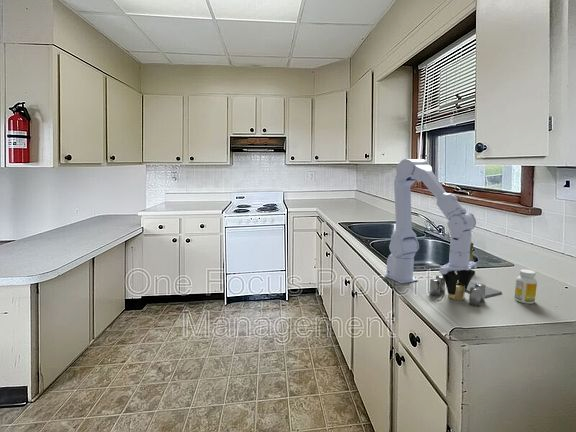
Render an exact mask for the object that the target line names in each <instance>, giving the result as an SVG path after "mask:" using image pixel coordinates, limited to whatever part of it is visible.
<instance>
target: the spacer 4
mask: <svg viewBox="0 0 576 432" xmlns="http://www.w3.org/2000/svg"><path fill="white" fill-rule="evenodd" d="M475 283H476V284H475V287H476V288H480V289H481V299H480V303H484V302H485V298H486V297H485V289H486V287H487V286H486V284H483V283H480V282H479V283H477V282H475Z"/></svg>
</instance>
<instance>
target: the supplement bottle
mask: <svg viewBox="0 0 576 432" xmlns="http://www.w3.org/2000/svg"><path fill="white" fill-rule="evenodd" d="M535 277H536V271H533V270H532V269H520V270H519V276H517V277H516V278H515V280H516V281H515V290H514V297H513V298H514V300H515V301H517V302H519V303H522V304H528V305H529V304H531V305H532V304H534V303H535V301H536V294H537V286H538V285H537V284H538V280H537V279H536V278H535Z"/></svg>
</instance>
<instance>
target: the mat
mask: <svg viewBox="0 0 576 432" xmlns="http://www.w3.org/2000/svg"><path fill="white" fill-rule="evenodd" d="M476 283H477V282H475V281H471V280H470V282H469V284H468V287H467V289H466V292H465V293H469V294H470V288H471V287H475V284H476ZM501 294H503V292H502V291H501V290H497V289H495V288H492V287H489V286H486V289H485V298H489V297H493V296H497V295H501Z"/></svg>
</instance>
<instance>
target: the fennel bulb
mask: <svg viewBox="0 0 576 432" xmlns="http://www.w3.org/2000/svg"><path fill="white" fill-rule="evenodd" d="M473 248H474V242H472V241H471V244H470V257H469V262H470V261H472V262H474V259H473V258H474V256H473V250H474V249H473ZM471 270H473V268H471Z"/></svg>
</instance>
